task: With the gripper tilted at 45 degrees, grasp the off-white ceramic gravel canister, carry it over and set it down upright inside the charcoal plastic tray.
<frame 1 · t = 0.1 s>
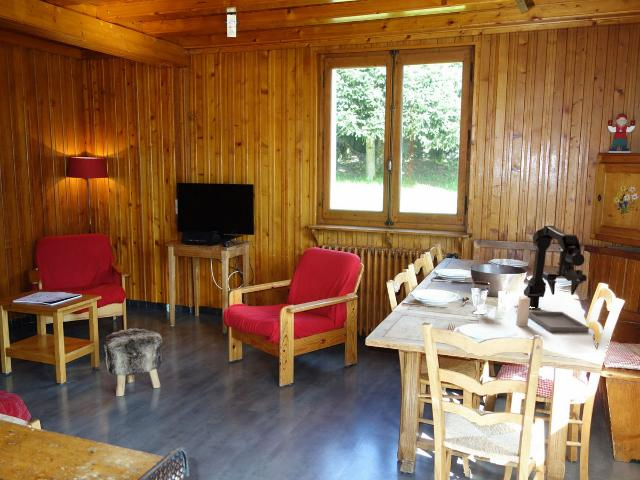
hand: (562, 294, 263), 15 cm above the table, tool pointing down, fingers open, 9 cm apart
tray: (556, 324, 267), on the table
wine glass: (478, 313, 281), on the table
canister: (521, 325, 264), on the table
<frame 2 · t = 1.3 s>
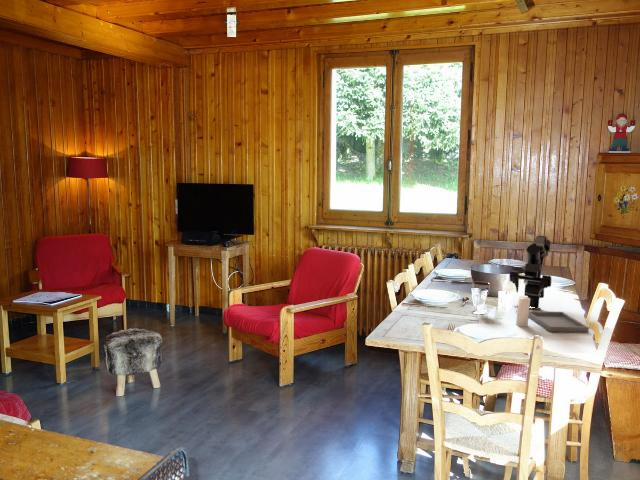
hand: (527, 293, 268), 13 cm above the table, tool tilted 45°, fingers open, 9 cm apart
nothing on the table moved.
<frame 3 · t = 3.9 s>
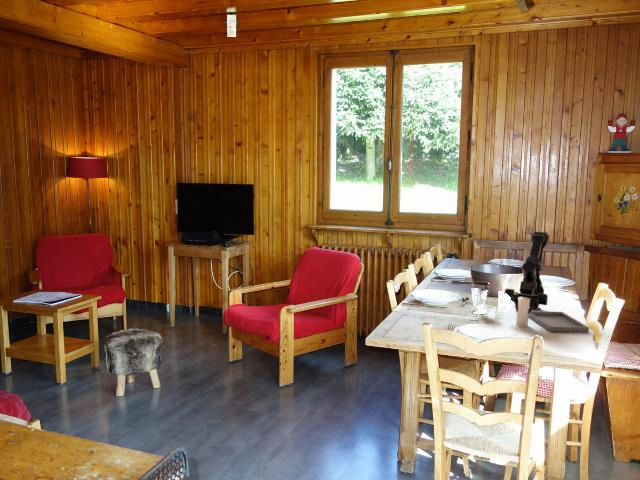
hand: (522, 312, 261), 7 cm above the table, tool tilted 45°, fingers closed on canister, 5 cm apart
canister: (521, 325, 264), on the table, touching gripper
everything else where it was.
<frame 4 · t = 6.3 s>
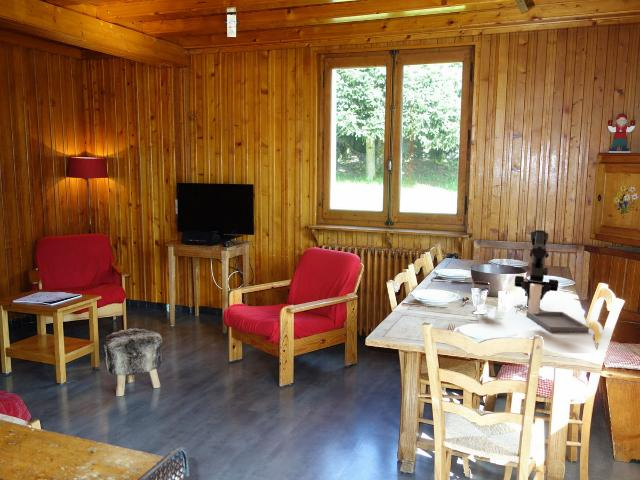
hand: (534, 298, 259), 13 cm above the table, tool tilted 45°, fingers closed on canister, 5 cm apart
canister: (533, 312, 261), point 7 cm above the table, touching gripper
everything else where it was.
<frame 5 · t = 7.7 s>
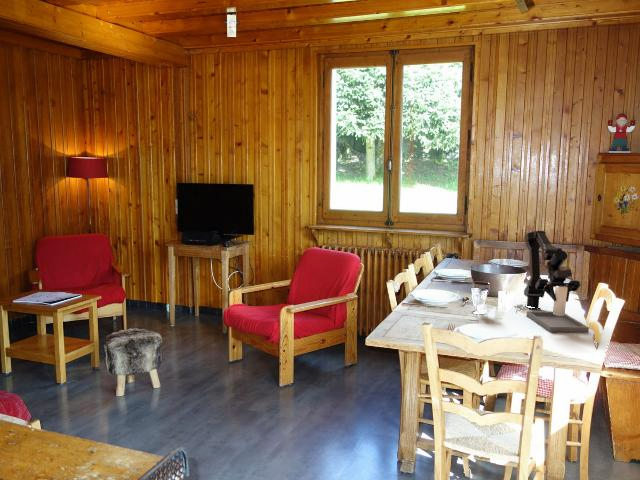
hand: (561, 301, 257), 13 cm above the table, tool tilted 45°, fingers closed on canister, 5 cm apart
canister: (558, 314, 260), point 7 cm above the table, touching gripper
everything else where it was.
when the fingers open (9 cm above the table, at t = 9.0 s): canister drops 1 cm, resting on tray.
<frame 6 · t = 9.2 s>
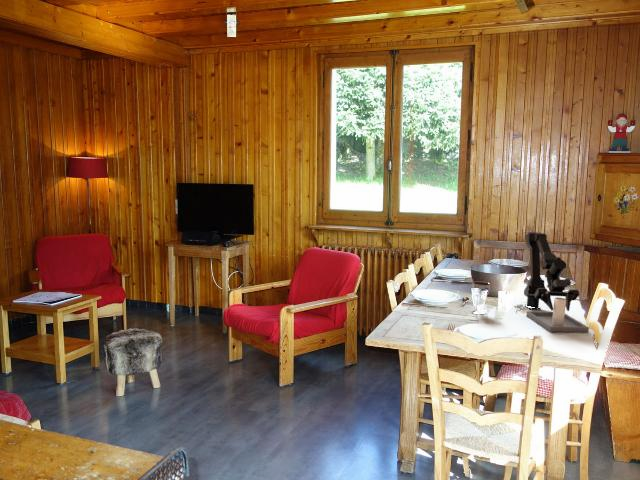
hand: (560, 310, 258), 9 cm above the table, tool tilted 45°, fingers open, 7 cm apart
canister: (557, 326, 261), point 1 cm above the table, touching tray
everything else where it was.
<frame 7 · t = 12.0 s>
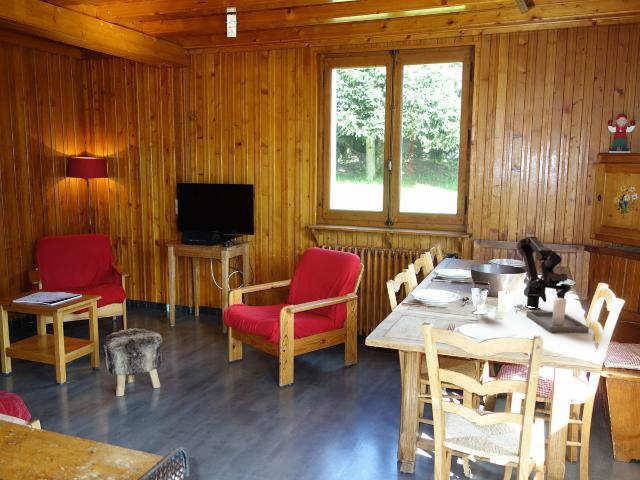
hand: (553, 303, 269), 9 cm above the table, tool tilted 35°, fingers open, 9 cm apart
nothing on the table moved.
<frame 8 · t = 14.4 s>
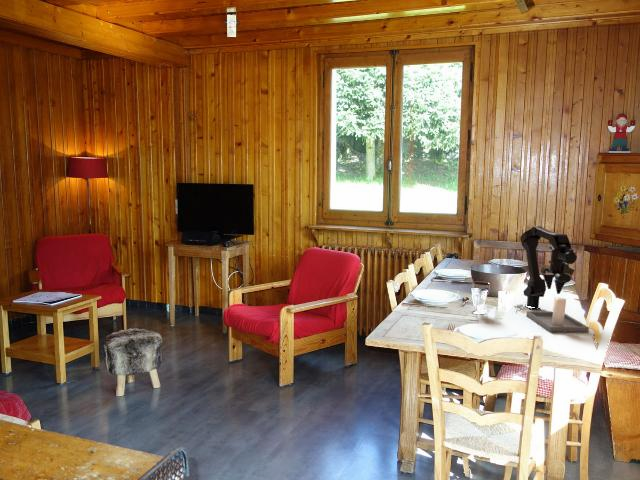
hand: (553, 291, 276), 13 cm above the table, tool pointing down, fingers open, 9 cm apart
nothing on the table moved.
at the end: canister inside the target area on the tray (6.4 cm from its centre), point 0.8 cm above the tray's base; canister tilted 0°; the gripper is holding nothing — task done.
